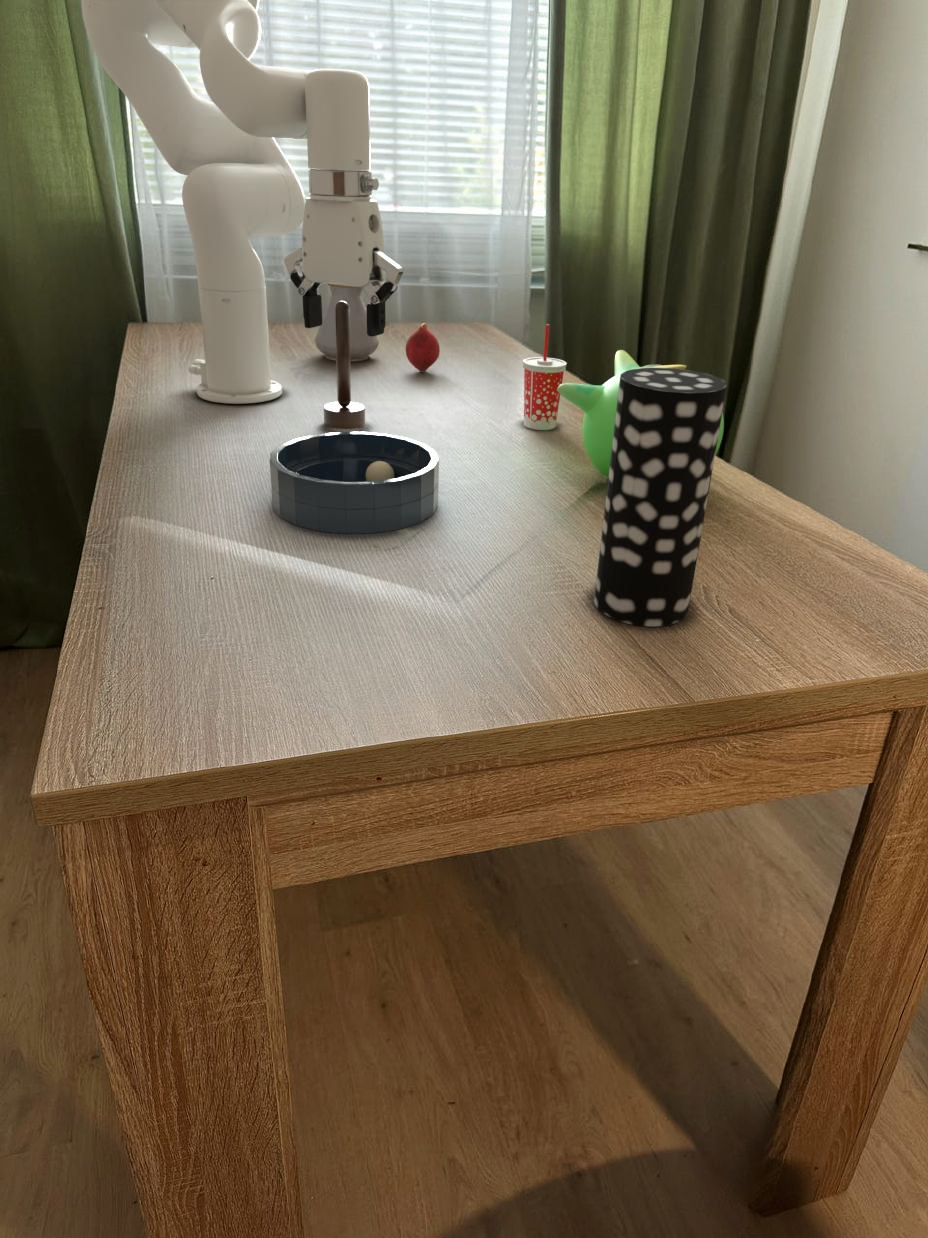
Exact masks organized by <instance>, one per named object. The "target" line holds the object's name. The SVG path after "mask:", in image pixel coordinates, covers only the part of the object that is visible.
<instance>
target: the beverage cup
mask: <svg viewBox="0 0 928 1238" xmlns="http://www.w3.org/2000/svg"><path fill="white" fill-rule="evenodd" d="M549 336H550V324H549V323H547V324H545V333H544V343H543V345H544V347H543V356H537V357H536V356H535V357H534V356H533V357H527V358H524V359H523V360H522V368H523V371H524V375H523V377H524V378H523V426H524V427H526V428H527V429H531V430H536V431H549V430H554V429H556V426H557V419H558V413H559V407H560V400H561V394H560V393H559V392H558V387H559V386H560V385H561V384H563V379H564V372H565V371H566V369H567V364H568V362H566V361H565V360H562V359H559V358H554V357H548V347H549Z"/></svg>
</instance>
